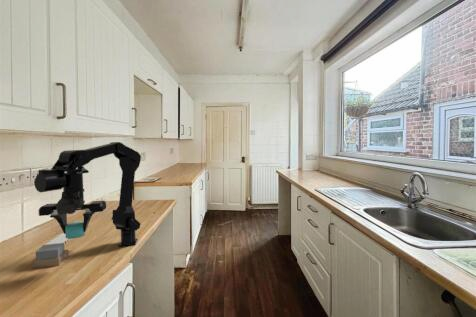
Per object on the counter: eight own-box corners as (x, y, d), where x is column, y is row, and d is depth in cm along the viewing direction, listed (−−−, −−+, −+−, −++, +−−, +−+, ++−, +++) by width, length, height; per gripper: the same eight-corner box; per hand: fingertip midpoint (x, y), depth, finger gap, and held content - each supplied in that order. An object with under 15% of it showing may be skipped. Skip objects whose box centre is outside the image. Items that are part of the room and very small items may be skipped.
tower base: (44, 259, 95) (44, 251, 94) (68, 257, 96) (68, 249, 96) (32, 269, 87) (32, 261, 87) (59, 266, 89) (58, 258, 89)
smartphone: (41, 246, 106) (62, 233, 120) (41, 248, 106) (62, 235, 120) (60, 245, 106) (78, 232, 121) (60, 247, 107) (78, 234, 121)
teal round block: (69, 233, 89) (69, 222, 89) (86, 232, 90) (86, 221, 90) (62, 239, 84) (62, 227, 83) (81, 237, 85) (81, 225, 85)
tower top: (43, 253, 93) (43, 245, 93) (64, 250, 95) (64, 242, 95) (35, 260, 87) (35, 252, 87) (58, 257, 89) (57, 249, 89)
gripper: (28, 193, 76) (30, 244, 77) (97, 189, 81) (98, 238, 81) (45, 187, 87) (48, 232, 88) (105, 184, 92) (107, 227, 92)
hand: (75, 232), depth 87 cm, fingers closed on teal round block, 5 cm apart
